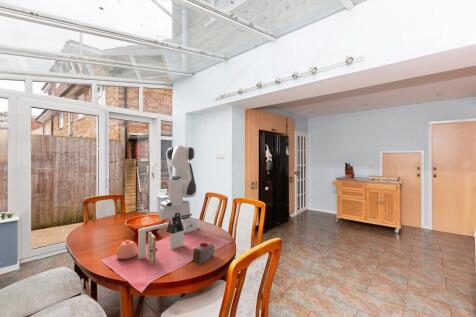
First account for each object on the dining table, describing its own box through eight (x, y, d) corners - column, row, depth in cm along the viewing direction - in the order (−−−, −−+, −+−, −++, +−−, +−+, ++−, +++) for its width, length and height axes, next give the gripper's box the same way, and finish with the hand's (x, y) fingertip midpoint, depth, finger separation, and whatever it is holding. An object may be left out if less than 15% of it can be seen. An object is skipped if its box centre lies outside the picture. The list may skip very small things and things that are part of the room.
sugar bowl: (123, 263, 130) (123, 246, 129) (110, 257, 137) (110, 241, 137) (142, 255, 140) (142, 239, 140) (129, 250, 147) (129, 235, 147)
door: (145, 256, 137) (145, 231, 137) (152, 255, 139) (152, 230, 139) (150, 265, 126) (150, 238, 126) (157, 264, 128) (158, 236, 128)
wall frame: (182, 244, 157) (182, 219, 157) (183, 245, 156) (183, 219, 155) (138, 258, 135) (138, 229, 135) (139, 259, 134) (139, 229, 134)
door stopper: (172, 234, 134) (172, 214, 134) (166, 232, 138) (166, 212, 138) (183, 230, 141) (184, 211, 141) (178, 228, 145) (178, 210, 145)
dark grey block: (206, 253, 143) (206, 238, 143) (216, 256, 139) (216, 240, 139) (191, 262, 131) (191, 245, 131) (202, 265, 127) (202, 248, 127)
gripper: (186, 199, 149) (186, 219, 149) (157, 203, 135) (157, 226, 134) (192, 200, 145) (191, 221, 145) (162, 204, 130) (162, 228, 130)
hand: (175, 223), depth 139 cm, fingers closed on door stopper, 3 cm apart
